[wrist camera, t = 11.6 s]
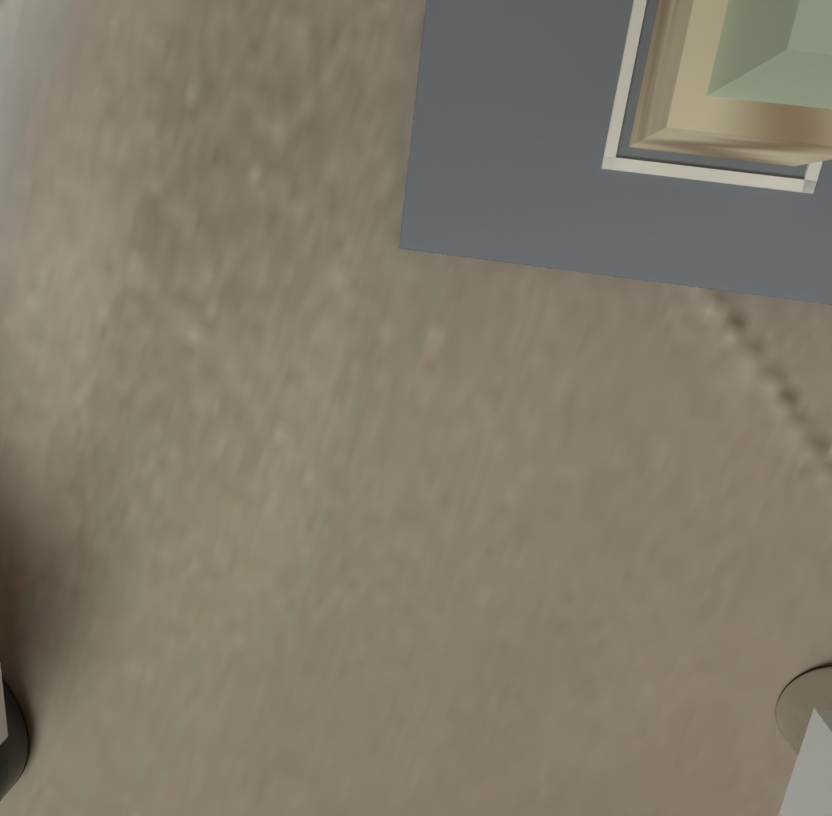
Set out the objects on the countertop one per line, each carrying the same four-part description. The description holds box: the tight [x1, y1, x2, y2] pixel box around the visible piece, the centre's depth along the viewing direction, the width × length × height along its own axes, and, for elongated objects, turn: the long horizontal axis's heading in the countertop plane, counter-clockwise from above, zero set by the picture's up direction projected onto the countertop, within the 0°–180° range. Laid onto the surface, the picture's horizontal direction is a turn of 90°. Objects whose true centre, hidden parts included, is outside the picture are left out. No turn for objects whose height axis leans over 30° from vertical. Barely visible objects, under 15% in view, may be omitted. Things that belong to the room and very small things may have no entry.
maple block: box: [629, 0, 832, 166], centre depth 23 cm, size 7×7×6 cm
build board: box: [399, 0, 832, 305], centre depth 27 cm, size 22×16×1 cm
